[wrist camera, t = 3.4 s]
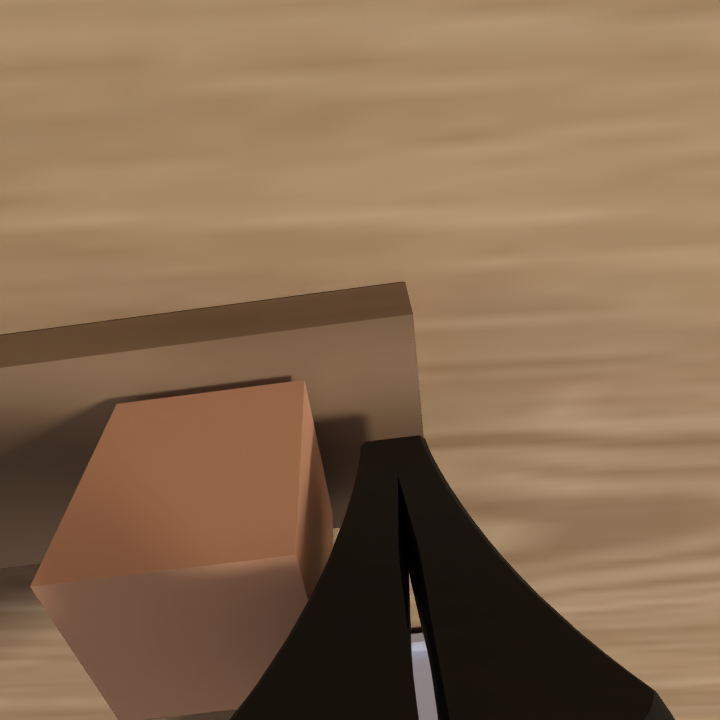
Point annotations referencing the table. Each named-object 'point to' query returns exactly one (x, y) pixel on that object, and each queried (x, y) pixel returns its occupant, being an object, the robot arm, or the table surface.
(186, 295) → the table surface
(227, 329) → the track
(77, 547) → the slider
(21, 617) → the table surface
